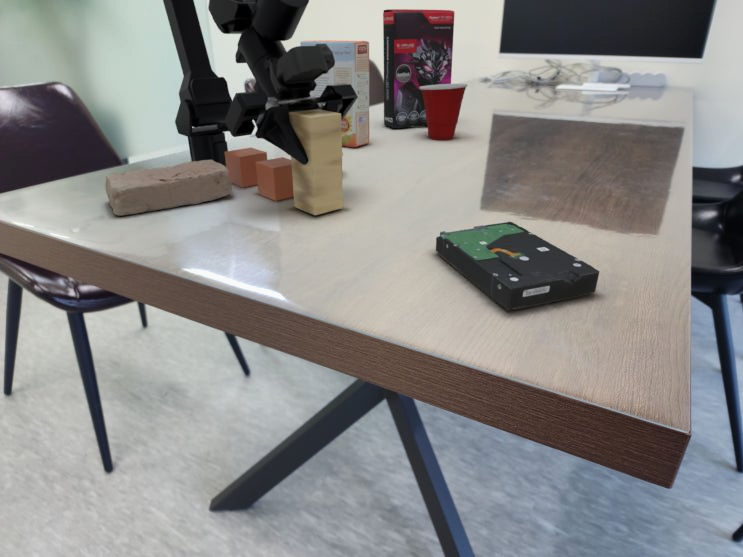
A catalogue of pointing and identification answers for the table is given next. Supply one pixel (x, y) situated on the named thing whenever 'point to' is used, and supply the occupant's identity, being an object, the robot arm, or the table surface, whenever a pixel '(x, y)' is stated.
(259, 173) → the cube mid
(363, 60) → the cracker box
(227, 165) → the cube far
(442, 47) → the graphics card box
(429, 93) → the plastic cup
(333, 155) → the maple block
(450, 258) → the disk drive
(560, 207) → the table surface
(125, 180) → the brick
